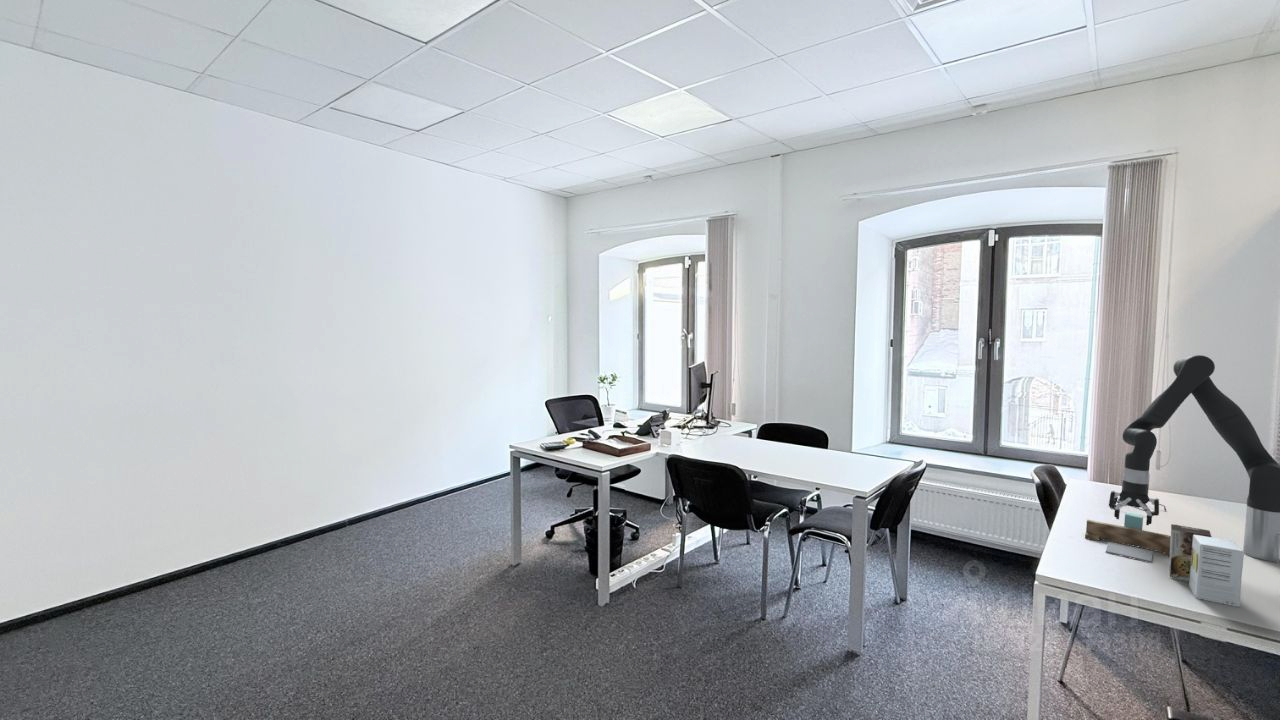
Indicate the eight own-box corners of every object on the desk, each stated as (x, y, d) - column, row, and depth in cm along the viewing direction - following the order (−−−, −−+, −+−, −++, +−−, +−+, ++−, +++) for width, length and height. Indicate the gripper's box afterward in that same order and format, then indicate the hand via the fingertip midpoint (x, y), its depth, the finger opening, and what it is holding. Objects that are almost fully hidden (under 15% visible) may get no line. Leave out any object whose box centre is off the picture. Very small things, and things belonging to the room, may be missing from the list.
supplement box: (1188, 586, 172) (1191, 533, 171) (1230, 594, 166) (1234, 540, 165) (1195, 598, 164) (1199, 543, 163) (1240, 608, 159) (1245, 551, 158)
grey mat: (1152, 552, 197) (1152, 551, 197) (1151, 562, 189) (1151, 561, 189) (1108, 543, 206) (1108, 541, 206) (1105, 552, 197) (1105, 550, 197)
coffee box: (1207, 579, 177) (1210, 530, 176) (1209, 586, 172) (1212, 535, 171) (1167, 570, 183) (1171, 523, 182) (1168, 577, 178) (1172, 528, 177)
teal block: (1141, 538, 211) (1143, 515, 210) (1141, 541, 207) (1142, 518, 207) (1124, 534, 214) (1125, 512, 214) (1123, 538, 211) (1124, 515, 210)
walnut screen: (1180, 551, 198) (1181, 535, 198) (1180, 558, 192) (1181, 541, 192) (1087, 532, 216) (1088, 517, 216) (1084, 538, 211) (1085, 522, 210)
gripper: (1161, 482, 207) (1158, 524, 208) (1112, 474, 217) (1109, 514, 219) (1160, 486, 202) (1157, 529, 203) (1110, 478, 212) (1106, 519, 213)
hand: (1132, 521), depth 211 cm, fingers open, 8 cm apart
